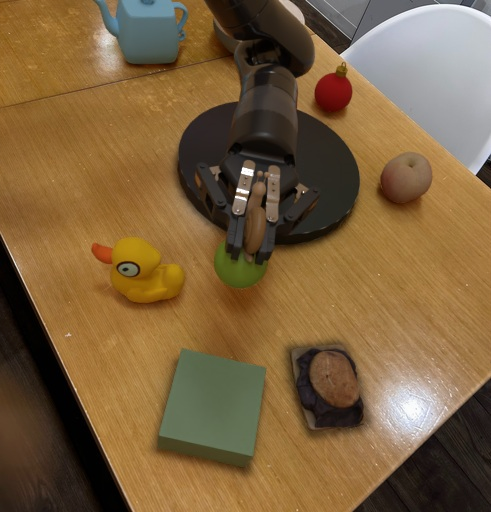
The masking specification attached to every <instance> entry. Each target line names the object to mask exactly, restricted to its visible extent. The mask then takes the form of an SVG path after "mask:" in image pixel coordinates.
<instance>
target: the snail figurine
mask: <svg viewBox="0 0 491 512" xmlns="http://www.w3.org/2000/svg"><path fill="white" fill-rule="evenodd" d="M262 175H263V172H262V171H258V172H257V176H258V178H259V177H261V176H262ZM269 176H270V173H269V172H265V173H264V177H265V179H266V178H268V177H269ZM264 182H265V180H264ZM264 182H263V183H262V182H258V179H257V182H256V183H255V184H254V185H253V187H252V194H251V196H250V198H249V201H248V204H247V208H246V213H245V225H244V232H243V239H242V246H241V251H240V254H239V258H238V261H236V260H231V259H230V257H231V254H230V253H226V251H225V242H226V238H225V239H223V241H222V242H221V243H220V244H219V245H218V246H217V247H216V249H215V251H214V255H213V268H214V272H215V274H216V276H217V278H218V279H219V280H220V282H222V283H223V284H224V285H226V286H228V287H229V288H233V289H236V290H237V289H238V290H243V289H248V288H252V287H253V286H255V285H257V284H258V283H259V282H260V281H261V280H262V279H263V278H264V276H265V274H266V272H267V268H268V263H269V261H265V260H264V262H263V265H257V264H255V256H256V252H257V251H258V250H259V248H260V247H261V245H262V242H263V239H264V235H265V230H266V213H265V210H264V209H263V208H262V207H260V206H261V202H262V197H263V195H264V194H265V192H266V186H265V185H264Z"/></svg>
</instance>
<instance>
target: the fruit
mask: <svg viewBox="0 0 491 512" xmlns="http://www.w3.org/2000/svg"><path fill="white" fill-rule="evenodd" d="M433 176H434V175H433V169H432V165H431V162H430V161H429V159H428V158H426V157H425V155H423V154H421V153H418V152H415V151H407V152H403V153H400V154H398V155H397V156H395V157H393V158H391V159H389V161H387V163H386V164H385V165H384V167H383V168H382V170H381V173H380V177H379V178H380V180H379V182H380V187H381V190H382V192H383V194H384V196H385V197H386V198H388V200H390V201H392V202H394V203H396V204H404V203H407V202H411V201H414V200H417V199H419V198H420V197H422V196H424V195H425V194H427V192H428V191H429V189H430V188H431V185H432V183H433Z"/></svg>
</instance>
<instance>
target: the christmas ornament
mask: <svg viewBox="0 0 491 512" xmlns="http://www.w3.org/2000/svg"><path fill="white" fill-rule="evenodd" d="M348 71H349V70H348V67H347V63H346V61H342V62H341V64H340V65H337V66H336V69H335V72H330V73H327V74H325V75H323V76H321V78H319V80H318V81H317V83H316V84H315V87H314V92H313V94H314V95H313V96H314V101H315V103H316V104H317V106H318V107H319V108H320V109H321V110H323V111H324V112H327V113H338V112H342V111H343V110H344V109H346V107H348V105H349V104H350V102H351V100H352V98H353V86H352V83H351V81H350V80H349V78H348V77H347V74H348Z"/></svg>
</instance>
